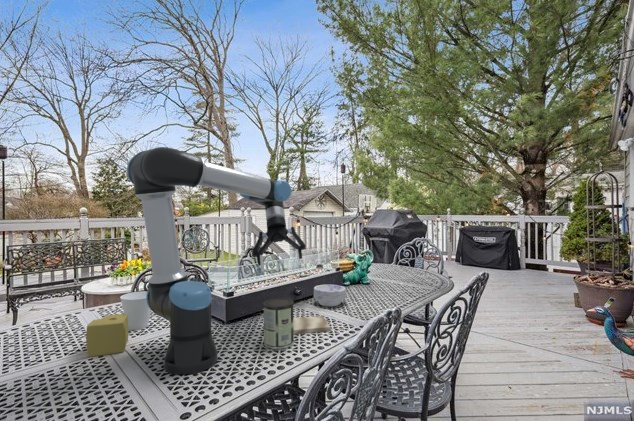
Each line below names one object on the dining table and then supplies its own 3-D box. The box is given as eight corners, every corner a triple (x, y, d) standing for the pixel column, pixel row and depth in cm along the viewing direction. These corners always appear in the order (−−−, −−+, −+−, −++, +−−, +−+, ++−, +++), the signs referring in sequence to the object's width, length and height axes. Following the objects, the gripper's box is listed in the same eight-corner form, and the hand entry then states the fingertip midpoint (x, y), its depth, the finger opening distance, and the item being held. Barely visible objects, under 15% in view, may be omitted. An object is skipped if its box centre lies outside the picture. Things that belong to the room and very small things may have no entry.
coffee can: (276, 335, 125) (276, 296, 124) (299, 341, 119) (299, 300, 119) (257, 345, 116) (256, 303, 116) (281, 352, 110) (281, 308, 110)
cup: (123, 335, 125) (123, 301, 125) (117, 326, 134) (117, 294, 134) (158, 327, 132) (158, 295, 132) (150, 319, 142) (150, 289, 141)
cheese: (94, 345, 116) (94, 316, 116) (130, 340, 120) (129, 312, 120) (85, 358, 106) (85, 326, 106) (125, 353, 110) (124, 322, 110)
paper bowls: (345, 299, 170) (345, 283, 170) (345, 309, 155) (345, 291, 155) (315, 299, 172) (315, 283, 171) (311, 308, 156) (311, 291, 156)
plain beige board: (282, 334, 125) (282, 330, 125) (279, 322, 137) (279, 319, 137) (330, 331, 128) (330, 327, 128) (322, 319, 141) (322, 315, 141)
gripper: (307, 220, 141) (315, 268, 130) (246, 229, 140) (249, 278, 129) (306, 210, 135) (314, 260, 124) (242, 220, 133) (245, 271, 122)
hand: (281, 269), depth 126 cm, fingers open, 13 cm apart
